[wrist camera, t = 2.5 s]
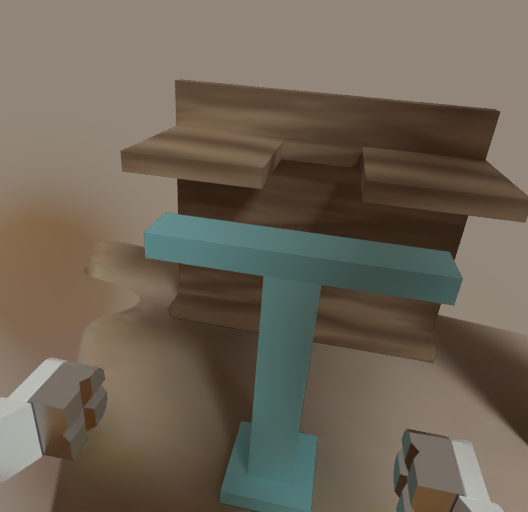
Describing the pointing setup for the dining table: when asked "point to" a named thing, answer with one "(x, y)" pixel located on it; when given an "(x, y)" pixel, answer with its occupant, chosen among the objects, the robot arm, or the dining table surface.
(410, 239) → the wall shelf
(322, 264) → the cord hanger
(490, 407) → the dining table surface
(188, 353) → the dining table surface
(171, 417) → the dining table surface
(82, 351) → the dining table surface
